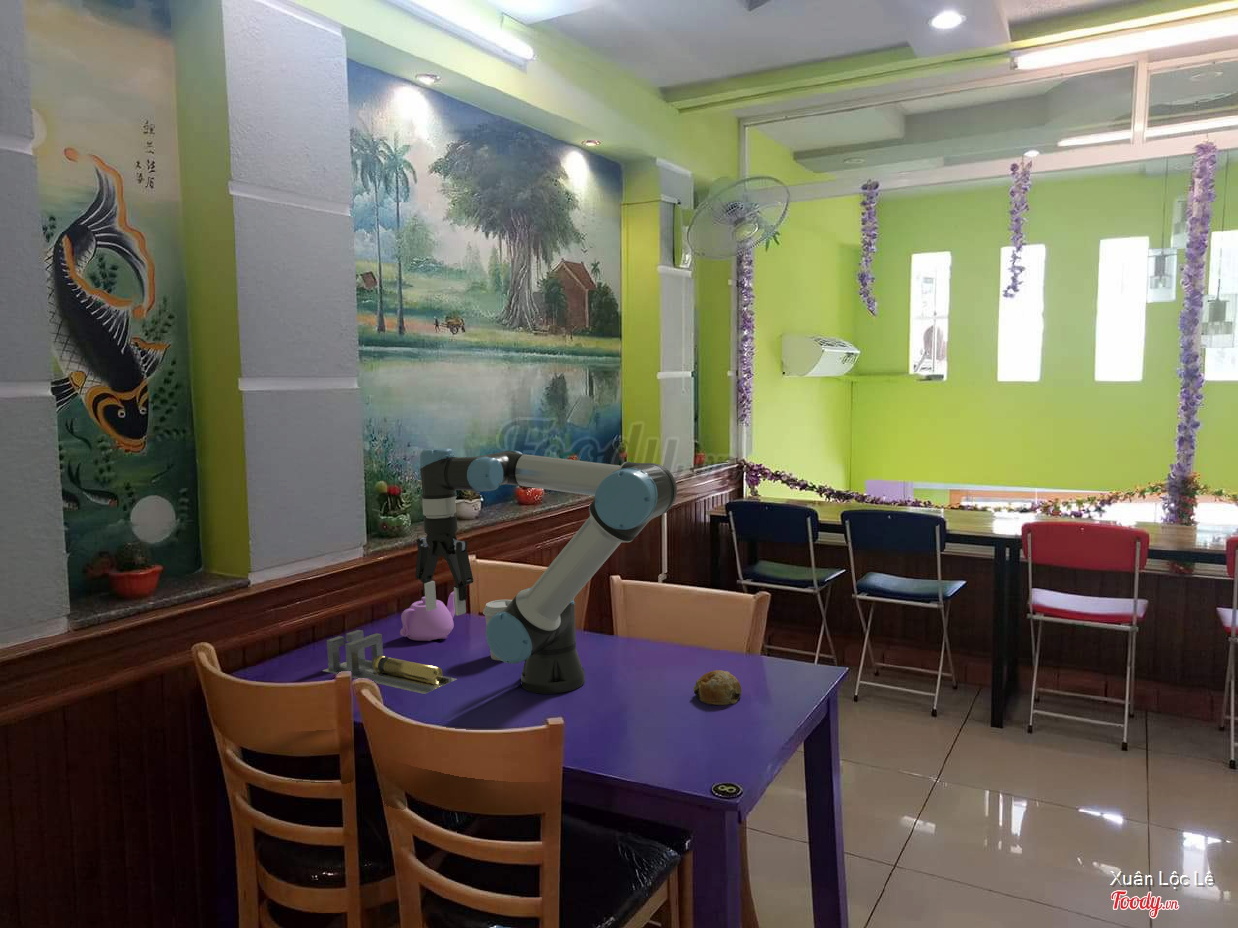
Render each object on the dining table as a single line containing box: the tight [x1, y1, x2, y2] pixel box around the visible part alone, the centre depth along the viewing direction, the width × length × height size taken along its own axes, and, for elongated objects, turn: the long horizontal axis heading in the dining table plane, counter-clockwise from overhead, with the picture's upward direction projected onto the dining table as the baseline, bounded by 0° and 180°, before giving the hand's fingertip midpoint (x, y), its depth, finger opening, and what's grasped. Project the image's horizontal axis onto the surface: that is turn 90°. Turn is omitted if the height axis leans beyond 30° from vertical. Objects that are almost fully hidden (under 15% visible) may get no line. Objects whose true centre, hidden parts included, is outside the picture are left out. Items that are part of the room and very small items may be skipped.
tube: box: [372, 655, 444, 684], centre depth 210 cm, size 20×4×4 cm, turn 57°
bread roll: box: [692, 669, 742, 706], centre depth 191 cm, size 10×10×8 cm
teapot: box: [399, 590, 456, 642], centre depth 245 cm, size 20×14×12 cm
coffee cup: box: [482, 599, 513, 661], centre depth 223 cm, size 10×10×15 cm
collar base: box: [321, 629, 458, 695], centre depth 212 cm, size 36×11×9 cm, turn 57°
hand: (445, 611), depth 200 cm, fingers open, 9 cm apart
